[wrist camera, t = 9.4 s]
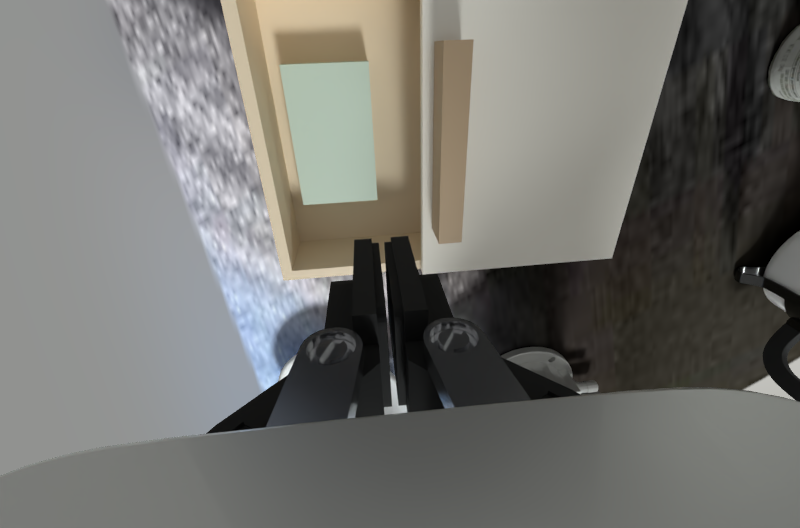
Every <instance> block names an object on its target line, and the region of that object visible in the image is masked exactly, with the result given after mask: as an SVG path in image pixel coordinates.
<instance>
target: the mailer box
mask: <svg viewBox="0 0 800 528" xmlns="http://www.w3.org/2000/svg"><path fill="white" fill-rule="evenodd" d="M221 5H222V9H223V13H224V18H225V22H226V27H227V31H228V36H229V40H230V44H231V49H232V53H233V58H234V62H235V67H236V71H237V76H238V80H239V84H240V89H241V93H242V98H243V102H244V107H245V111H246V115H247V120H248V124H249V129H250V133H251V138H252V142H253V146H254V151H255V155H256V160H257V164H258V169H259V173H260V178H261V182H262V186H263V191H264V195H265V200H266V204H267V209H268V213H269V217H270V222H271V226H272V231H273V235H274V240H275V244H276V248H277V253H278V257H279V262H280V266H281V271H282V275H283V280H295V279H307V278H319V277H331V276H342V275H353V261H354V240H357V239H371V238H372V243H379V249H380V259H381V269H382V272H386V264H385V248H384V242H391V237H400V236H408V237H409V241H410V245H411V248H412V252H413V255H414V259H415V263H416V266H417V269H421V97H420V0H221Z"/></svg>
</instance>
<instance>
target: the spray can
mask: <svg viewBox="0 0 800 528" xmlns="http://www.w3.org/2000/svg"><path fill="white" fill-rule="evenodd" d="M768 74H769V76H768V85H769V87H770V89H771V92H772V94H773V95H775V96H777V97H779V98H782V99H785V100H790V101H798V102H800V25H798V26H797V27H796V28H795V29H794V30H793V31H792V32H791V33H790V34H789V35H788V36H787V37H786V38H785V39H784V40H783V41H782V43H781V46H780V47H779V49H778V51H777V52H776V53H775V55H774V58H773V60H772V62H771V65H770V68H769V72H768Z"/></svg>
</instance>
